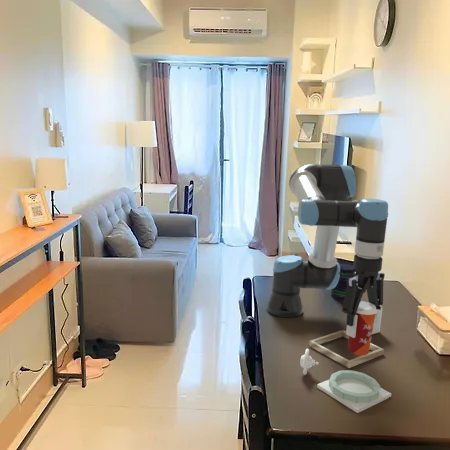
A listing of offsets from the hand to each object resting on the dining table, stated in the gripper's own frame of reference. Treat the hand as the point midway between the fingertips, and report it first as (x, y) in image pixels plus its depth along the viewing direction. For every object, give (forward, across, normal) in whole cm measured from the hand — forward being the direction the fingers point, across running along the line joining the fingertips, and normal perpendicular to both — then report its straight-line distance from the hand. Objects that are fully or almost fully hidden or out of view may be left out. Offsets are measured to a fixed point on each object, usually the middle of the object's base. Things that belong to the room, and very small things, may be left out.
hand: (360, 332), depth 131 cm
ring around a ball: (+19, -4, +15) cm, 24 cm away
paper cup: (+6, 0, 0) cm, 6 cm away
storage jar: (+19, +60, +56) cm, 84 cm away
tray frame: (+19, +19, +19) cm, 33 cm away
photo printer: (+19, +38, +24) cm, 49 cm away
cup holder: (+19, 0, 0) cm, 19 cm away
